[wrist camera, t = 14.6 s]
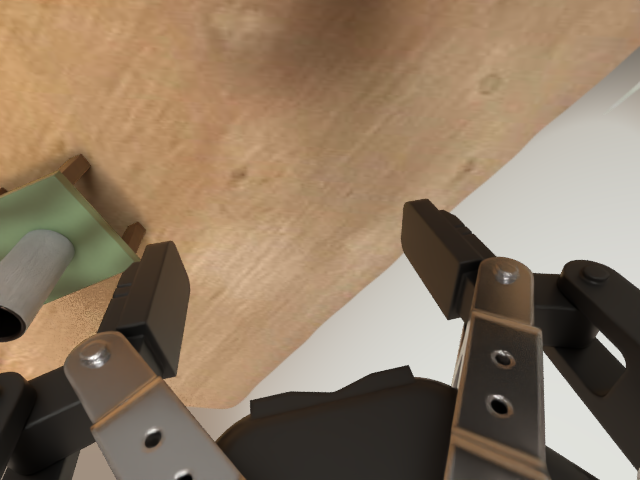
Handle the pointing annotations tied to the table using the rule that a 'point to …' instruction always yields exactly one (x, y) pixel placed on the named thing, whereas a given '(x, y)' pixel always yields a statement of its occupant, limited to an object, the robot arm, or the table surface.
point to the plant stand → (68, 227)
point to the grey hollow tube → (30, 278)
